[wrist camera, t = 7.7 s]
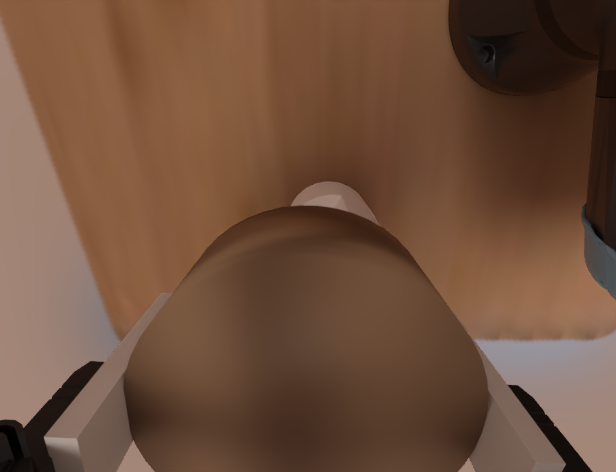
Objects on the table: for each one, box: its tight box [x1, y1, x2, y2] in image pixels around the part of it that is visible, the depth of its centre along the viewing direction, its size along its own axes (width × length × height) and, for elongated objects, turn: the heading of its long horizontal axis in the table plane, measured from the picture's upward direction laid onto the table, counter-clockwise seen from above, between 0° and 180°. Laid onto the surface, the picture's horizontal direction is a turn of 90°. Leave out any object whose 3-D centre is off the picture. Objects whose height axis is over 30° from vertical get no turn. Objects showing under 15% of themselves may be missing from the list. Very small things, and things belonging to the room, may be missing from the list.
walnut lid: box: [123, 205, 489, 472], centre depth 12 cm, size 11×11×5 cm
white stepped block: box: [291, 181, 381, 227], centre depth 30 cm, size 9×9×12 cm
